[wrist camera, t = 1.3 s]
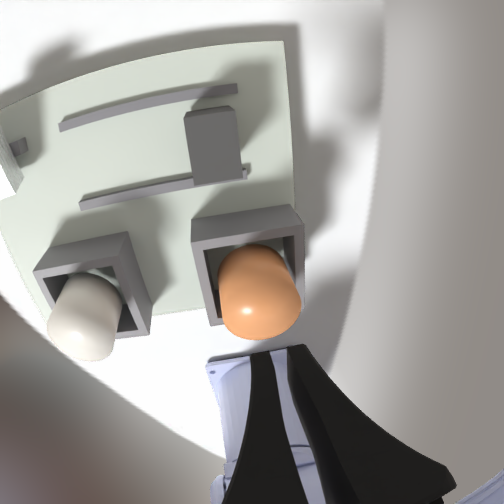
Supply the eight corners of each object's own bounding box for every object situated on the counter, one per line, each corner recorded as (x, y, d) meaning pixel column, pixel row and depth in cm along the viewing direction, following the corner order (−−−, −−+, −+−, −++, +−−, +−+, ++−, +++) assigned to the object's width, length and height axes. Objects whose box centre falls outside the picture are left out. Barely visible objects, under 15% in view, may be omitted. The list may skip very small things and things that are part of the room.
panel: (289, 274, 22) (309, 318, 18) (56, 310, 21) (38, 353, 17) (274, 44, 14) (299, 33, 10) (-13, 120, 13) (-57, 137, 9)
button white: (130, 319, 17) (123, 359, 14) (78, 326, 17) (66, 363, 14) (109, 268, 15) (96, 305, 12) (53, 277, 15) (34, 313, 12)
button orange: (286, 294, 18) (301, 331, 15) (222, 306, 17) (228, 345, 15) (284, 238, 16) (301, 272, 13) (212, 250, 15) (215, 287, 13)
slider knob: (235, 160, 15) (243, 178, 13) (194, 166, 15) (194, 186, 12) (228, 105, 14) (235, 110, 11) (186, 111, 13) (183, 118, 11)
